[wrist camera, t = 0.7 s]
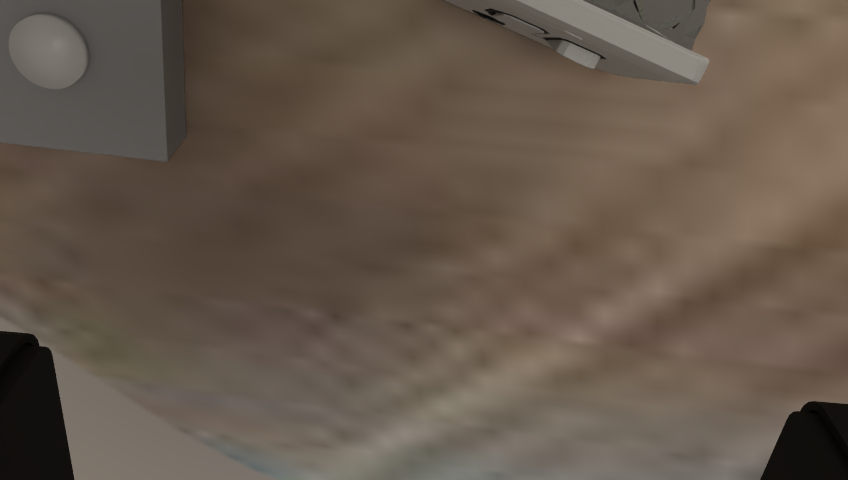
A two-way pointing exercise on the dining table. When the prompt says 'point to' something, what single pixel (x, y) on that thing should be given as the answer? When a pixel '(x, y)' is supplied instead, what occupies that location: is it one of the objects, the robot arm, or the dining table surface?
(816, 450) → the robot arm
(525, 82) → the dining table surface
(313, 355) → the dining table surface
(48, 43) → the grey knob block
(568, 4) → the electrical switch
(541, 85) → the dining table surface
